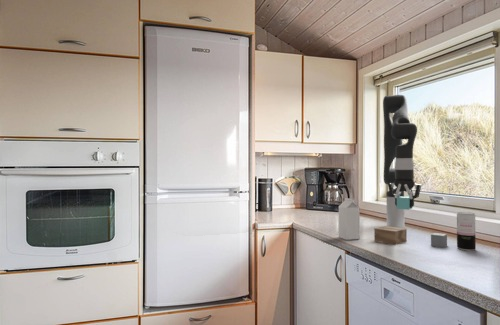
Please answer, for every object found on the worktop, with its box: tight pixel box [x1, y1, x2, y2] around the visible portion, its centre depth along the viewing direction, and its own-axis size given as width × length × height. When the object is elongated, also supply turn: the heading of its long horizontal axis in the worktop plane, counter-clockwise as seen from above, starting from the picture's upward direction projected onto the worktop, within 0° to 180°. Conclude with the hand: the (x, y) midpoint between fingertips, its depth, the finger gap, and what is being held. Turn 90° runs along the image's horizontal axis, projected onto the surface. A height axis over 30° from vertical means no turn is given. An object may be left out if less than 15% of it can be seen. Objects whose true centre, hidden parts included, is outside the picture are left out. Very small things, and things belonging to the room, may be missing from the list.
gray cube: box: [430, 232, 448, 248], centre depth 151 cm, size 5×5×5 cm
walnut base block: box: [374, 225, 408, 245], centre depth 161 cm, size 10×10×6 cm
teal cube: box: [397, 196, 413, 211], centre depth 154 cm, size 5×5×5 cm
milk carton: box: [338, 197, 361, 241], centre depth 167 cm, size 7×7×19 cm
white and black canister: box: [456, 211, 477, 252], centre depth 145 cm, size 7×6×15 cm
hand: (404, 206), depth 154 cm, fingers closed on teal cube, 5 cm apart
